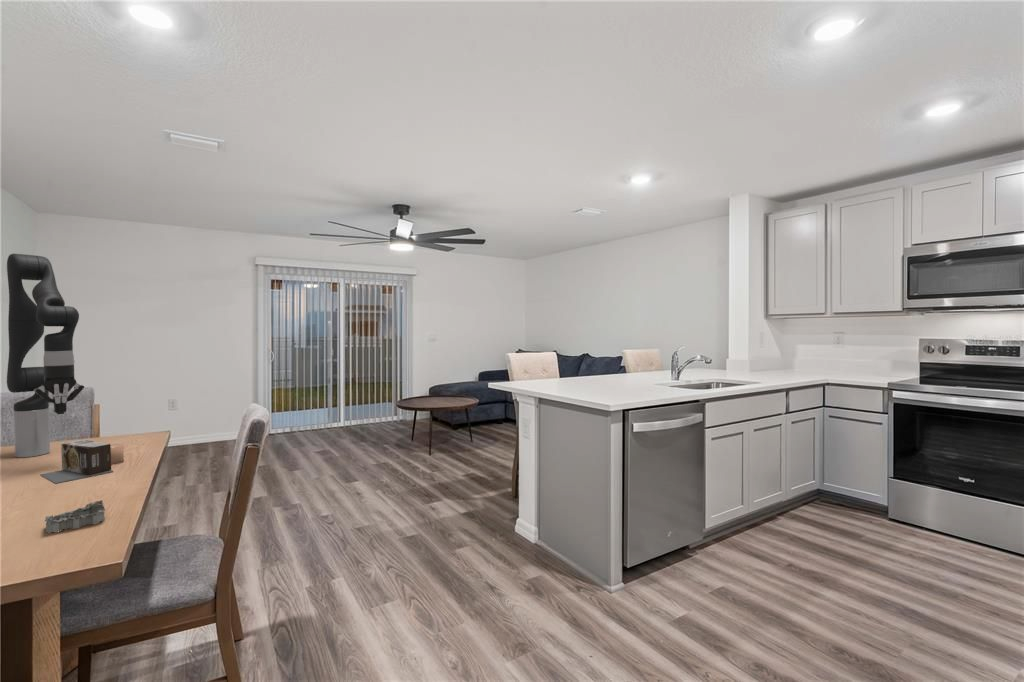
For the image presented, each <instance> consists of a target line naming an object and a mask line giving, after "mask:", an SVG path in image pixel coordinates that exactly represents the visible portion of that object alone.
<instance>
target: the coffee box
mask: <svg viewBox="0 0 1024 682" xmlns="http://www.w3.org/2000/svg"><path fill="white" fill-rule="evenodd" d="M110 445H111V443H107V442H100V441H94V440H88V439H79V440H73V441H67V442H62V443H61V444H60V446H61V448H60V449H61V451H60V452H61V470H66V471H71V472H76V473H81V474H87V475H92V474H96V473H100V472H105V471H109V470H112V465H111V447H110Z"/></svg>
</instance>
